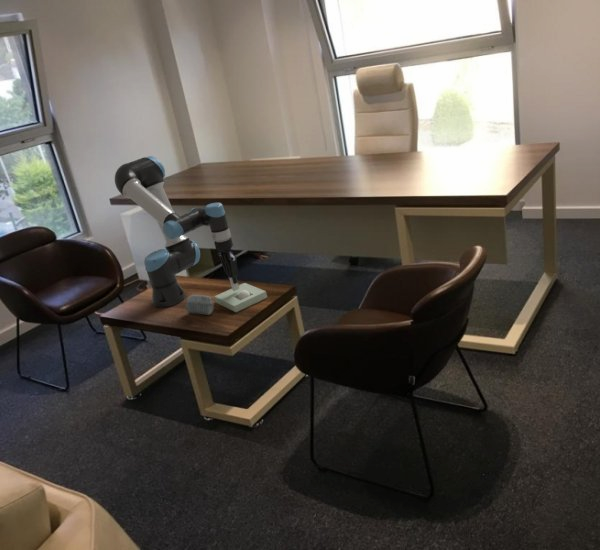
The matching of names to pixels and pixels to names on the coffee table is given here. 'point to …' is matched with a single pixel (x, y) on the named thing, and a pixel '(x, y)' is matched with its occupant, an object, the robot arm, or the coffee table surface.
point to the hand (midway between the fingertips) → (235, 289)
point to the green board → (234, 303)
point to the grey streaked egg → (199, 304)
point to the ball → (243, 294)
